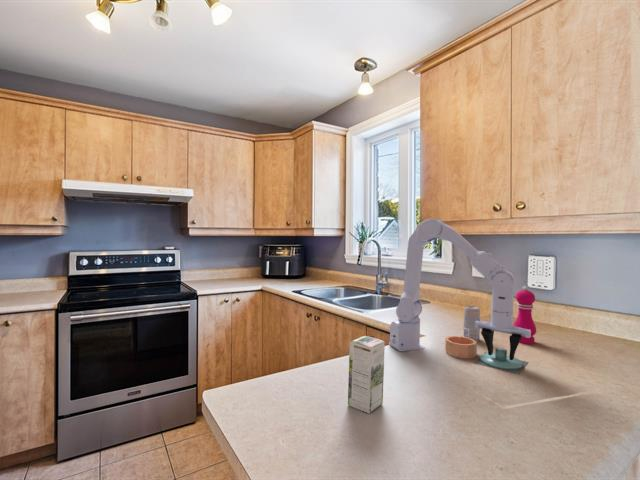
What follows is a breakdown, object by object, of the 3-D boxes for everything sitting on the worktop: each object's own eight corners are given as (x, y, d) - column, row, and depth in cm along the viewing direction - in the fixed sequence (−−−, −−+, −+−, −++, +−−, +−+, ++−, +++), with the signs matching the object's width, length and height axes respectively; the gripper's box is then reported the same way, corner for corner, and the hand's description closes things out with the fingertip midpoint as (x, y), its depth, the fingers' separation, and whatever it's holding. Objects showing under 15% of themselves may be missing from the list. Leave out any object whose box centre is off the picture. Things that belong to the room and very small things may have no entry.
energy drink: (476, 338, 126) (477, 306, 125) (481, 343, 120) (482, 309, 120) (461, 337, 126) (462, 305, 126) (466, 342, 121) (466, 308, 120)
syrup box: (361, 396, 79) (362, 334, 79) (383, 404, 76) (385, 340, 75) (347, 405, 75) (348, 340, 75) (370, 415, 71) (371, 346, 71)
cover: (501, 371, 94) (501, 357, 94) (472, 357, 104) (472, 345, 104) (531, 367, 97) (532, 354, 97) (500, 354, 108) (500, 342, 108)
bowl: (458, 360, 103) (458, 346, 103) (439, 350, 111) (439, 337, 111) (482, 358, 105) (483, 343, 105) (462, 348, 114) (462, 335, 114)
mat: (473, 364, 100) (473, 362, 100) (485, 353, 109) (485, 352, 109) (519, 376, 92) (519, 374, 92) (528, 363, 101) (528, 362, 101)
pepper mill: (539, 345, 119) (541, 288, 118) (516, 343, 120) (518, 287, 120) (531, 339, 126) (532, 285, 125) (509, 337, 127) (511, 284, 127)
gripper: (533, 312, 99) (532, 359, 99) (480, 305, 108) (479, 347, 108) (528, 316, 93) (527, 366, 94) (472, 308, 103) (471, 353, 103)
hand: (500, 356), depth 101 cm, fingers open, 5 cm apart
